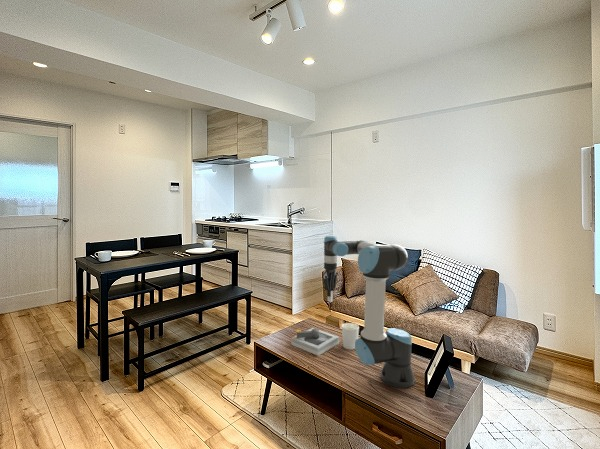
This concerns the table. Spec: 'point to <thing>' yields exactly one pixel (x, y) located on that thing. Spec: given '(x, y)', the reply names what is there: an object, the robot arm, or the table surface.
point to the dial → (312, 336)
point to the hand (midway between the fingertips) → (330, 301)
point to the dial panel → (316, 349)
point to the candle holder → (349, 335)
